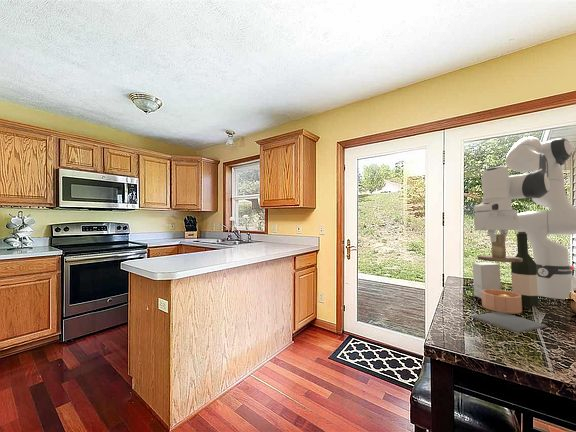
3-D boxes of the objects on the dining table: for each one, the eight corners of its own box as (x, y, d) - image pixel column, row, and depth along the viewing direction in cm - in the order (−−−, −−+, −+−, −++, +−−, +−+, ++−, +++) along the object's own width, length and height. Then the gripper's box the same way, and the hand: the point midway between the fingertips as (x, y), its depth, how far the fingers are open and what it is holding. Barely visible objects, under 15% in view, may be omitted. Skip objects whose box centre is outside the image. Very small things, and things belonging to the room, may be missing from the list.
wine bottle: (517, 305, 103) (513, 232, 104) (508, 299, 111) (505, 231, 112) (544, 307, 100) (540, 231, 101) (533, 301, 108) (529, 231, 109)
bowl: (495, 302, 107) (494, 288, 108) (529, 311, 96) (529, 295, 96) (475, 305, 104) (474, 290, 104) (508, 315, 92) (507, 298, 92)
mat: (499, 312, 95) (499, 311, 95) (546, 326, 82) (546, 324, 82) (472, 317, 91) (471, 315, 91) (517, 333, 78) (517, 331, 78)
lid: (492, 257, 108) (491, 233, 108) (531, 261, 95) (530, 234, 95) (469, 258, 104) (468, 234, 104) (506, 263, 91) (505, 235, 91)
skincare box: (492, 295, 117) (490, 262, 118) (502, 300, 111) (501, 264, 111) (473, 295, 118) (471, 262, 118) (482, 299, 111) (480, 264, 112)
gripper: (505, 207, 106) (507, 240, 106) (470, 207, 100) (471, 242, 99) (523, 206, 100) (525, 241, 100) (486, 205, 94) (488, 242, 93)
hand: (498, 241), depth 99 cm, fingers closed on lid, 3 cm apart
